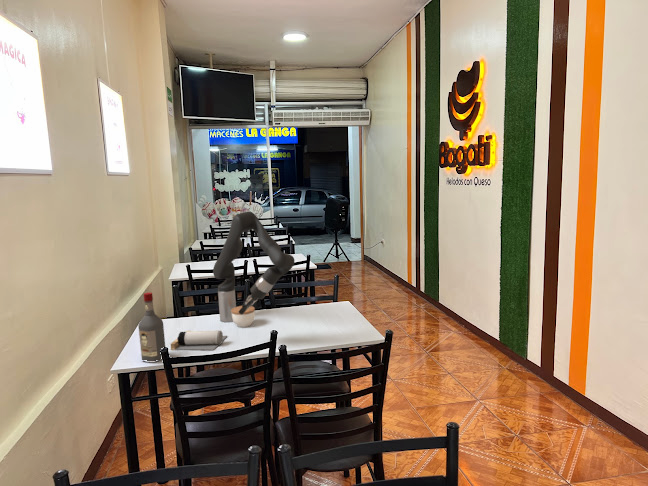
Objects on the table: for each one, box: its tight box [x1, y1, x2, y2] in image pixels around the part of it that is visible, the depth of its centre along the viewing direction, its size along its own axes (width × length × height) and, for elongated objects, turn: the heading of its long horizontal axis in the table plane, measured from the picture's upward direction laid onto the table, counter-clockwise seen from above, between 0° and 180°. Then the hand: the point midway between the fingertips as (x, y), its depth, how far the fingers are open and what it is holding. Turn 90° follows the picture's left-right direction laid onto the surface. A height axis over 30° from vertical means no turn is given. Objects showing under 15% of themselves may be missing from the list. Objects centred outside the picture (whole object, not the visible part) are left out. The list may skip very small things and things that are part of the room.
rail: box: [170, 330, 190, 351], centre depth 216 cm, size 18×2×3 cm, turn 172°
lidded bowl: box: [231, 305, 256, 328], centre depth 239 cm, size 13×13×11 cm
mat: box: [174, 335, 228, 352], centre depth 215 cm, size 18×19×1 cm
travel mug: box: [176, 330, 224, 345], centre depth 212 cm, size 6×7×20 cm
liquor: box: [137, 292, 166, 361], centre depth 196 cm, size 9×9×30 cm
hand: (240, 313), depth 210 cm, fingers closed
